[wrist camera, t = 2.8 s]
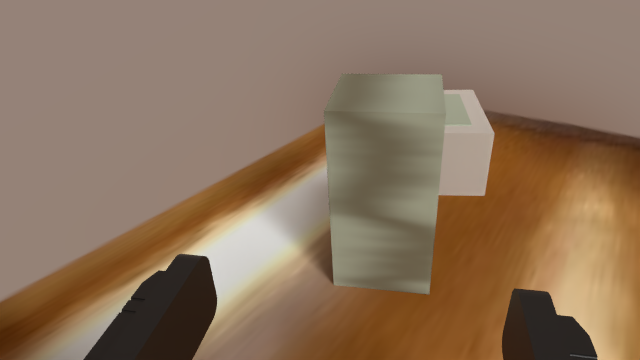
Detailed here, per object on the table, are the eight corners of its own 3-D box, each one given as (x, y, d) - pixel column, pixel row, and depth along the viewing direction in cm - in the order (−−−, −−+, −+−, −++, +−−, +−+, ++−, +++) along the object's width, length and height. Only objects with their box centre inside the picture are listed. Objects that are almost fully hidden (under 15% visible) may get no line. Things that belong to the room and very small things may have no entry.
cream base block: (465, 145, 38) (473, 88, 35) (484, 198, 31) (494, 132, 28) (369, 145, 39) (370, 89, 36) (366, 196, 32) (366, 131, 29)
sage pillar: (428, 234, 27) (441, 74, 22) (429, 294, 23) (446, 113, 18) (347, 228, 28) (341, 73, 23) (333, 285, 24) (324, 111, 19)
